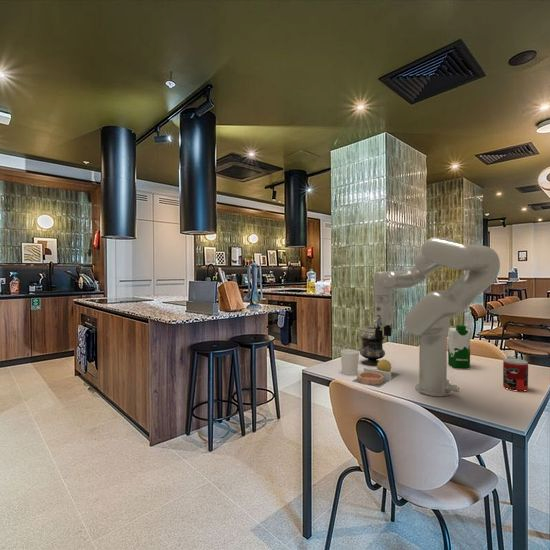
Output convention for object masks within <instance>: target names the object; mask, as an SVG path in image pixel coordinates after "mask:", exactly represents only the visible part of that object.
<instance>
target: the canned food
mask: <svg viewBox="0 0 550 550" xmlns="http://www.w3.org/2000/svg"><path fill="white" fill-rule="evenodd" d="M528 362H529V361H527V360H524V359H520V358H514V357H513V358H511V357H509V358H508V357H507V358H503V363H502V368H503V369H502V372H503V373H502V381H503V382H502V386H503V388H504V387H505V389H506V388H508V389H511V390H517V391H524V390H527V391H528V389H529V363H528ZM508 389H507V390H508ZM511 390H510V391H511Z"/></svg>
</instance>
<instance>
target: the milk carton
mask: <svg viewBox="0 0 550 550" xmlns="http://www.w3.org/2000/svg"><path fill="white" fill-rule="evenodd" d="M471 336H472V330H470V329H467V326H466V325H463V324H456V325H455V327H449V331H448V337H447V363H448V364H449V365H448V366H449V367H451V366H452V367H451V368H452V369H454V368H470V369H471Z"/></svg>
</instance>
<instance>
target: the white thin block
mask: <svg viewBox="0 0 550 550" xmlns="http://www.w3.org/2000/svg"><path fill="white" fill-rule="evenodd" d="M363 372H373V373H378V374H381V375H382V376H384V379H386V380H390V381H392V380H391V373H390V372H391V371H389V372H385V371H380V370H378V369H376V370H375V368H374V369H373V368H368V367H363Z"/></svg>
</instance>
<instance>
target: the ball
mask: <svg viewBox="0 0 550 550" xmlns="http://www.w3.org/2000/svg"><path fill="white" fill-rule="evenodd" d="M378 361H379V362H378V364H377V366H376V368H377V370H380V371H385V372H391V370H392V364H391V363H390V361H389V360H387V359H380V360H378Z"/></svg>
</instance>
